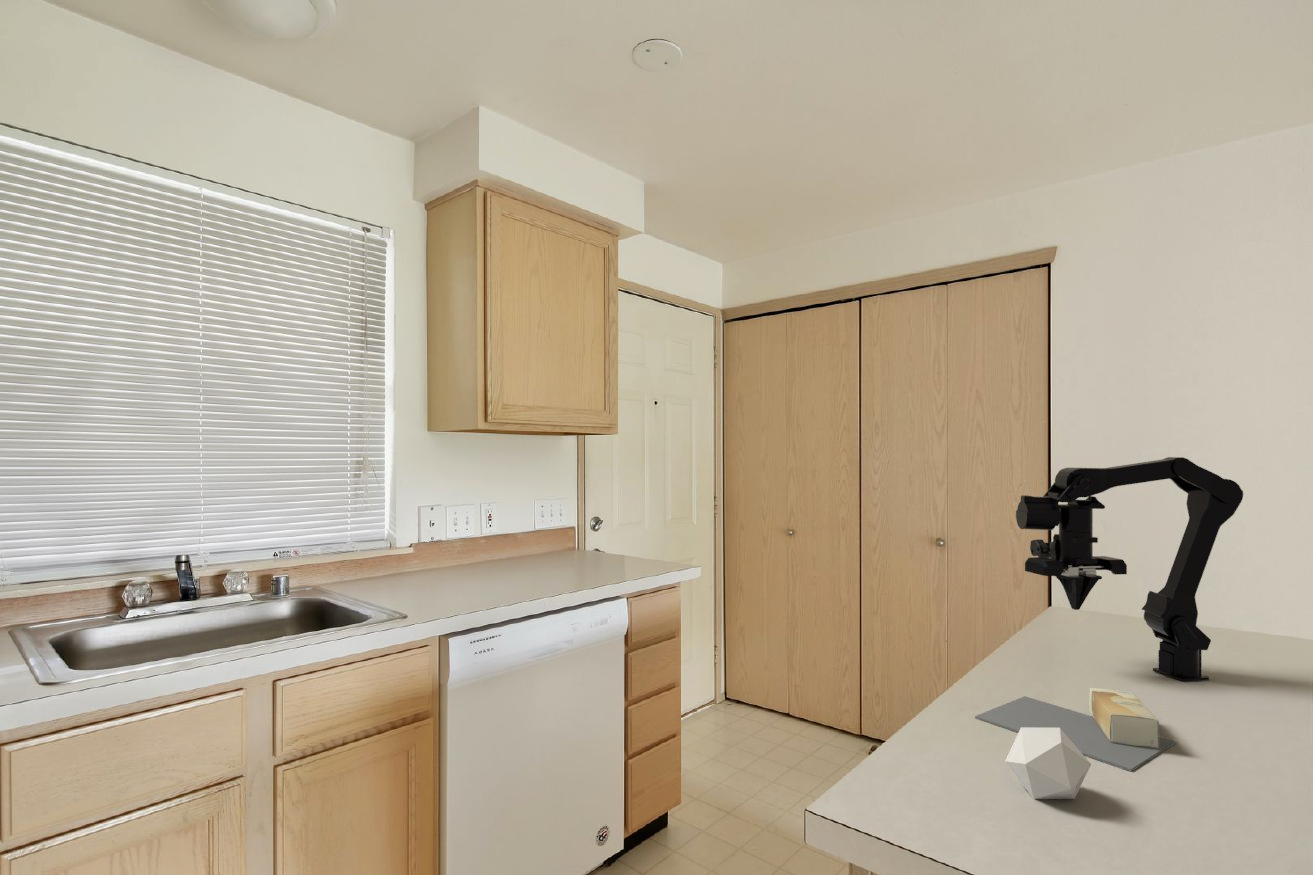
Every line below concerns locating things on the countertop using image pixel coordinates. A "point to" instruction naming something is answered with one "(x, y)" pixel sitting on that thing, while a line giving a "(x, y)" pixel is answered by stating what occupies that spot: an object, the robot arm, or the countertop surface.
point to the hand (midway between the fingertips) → (1075, 609)
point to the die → (1047, 763)
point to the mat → (1072, 731)
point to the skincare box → (1124, 718)
